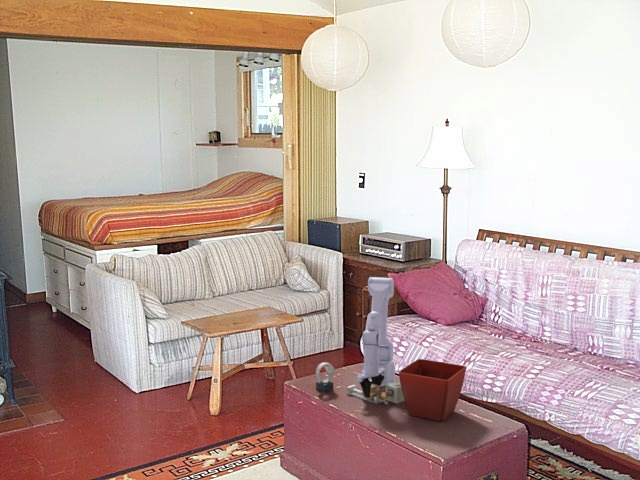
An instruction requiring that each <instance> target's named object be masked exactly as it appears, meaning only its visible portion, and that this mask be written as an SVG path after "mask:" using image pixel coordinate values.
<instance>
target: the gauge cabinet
mask: <svg viewBox="0 0 640 480" xmlns="http://www.w3.org/2000/svg"><path fill="white" fill-rule="evenodd" d="M384 390H385V391H384V392H389V391H392V390H394V394H393V395H391V396H388V397H387V399H385V400H384V401H388V402H391V403H395V404H397V405H398V404H400V403H403V402H405V400H404V397H403V393H402V389H401V384H400V381H397V380H396V381H394V382H391V383H388V384H385V386H384Z"/></svg>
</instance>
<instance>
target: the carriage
mask: <svg viewBox="0 0 640 480" xmlns="http://www.w3.org/2000/svg"><path fill="white" fill-rule="evenodd" d="M380 388H381V387H380V386H379V385H376V384H373V383H372V385H371V388H370V397H369V398H368V399H371V400H372V399H374V395H375V396H377V395H379V394H380V393H381V392H380V391H381V390H380ZM361 391H362V397H364V393H363V389H362V388H361ZM365 398H367V397H365Z"/></svg>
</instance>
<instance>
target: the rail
mask: <svg viewBox="0 0 640 480" xmlns="http://www.w3.org/2000/svg"><path fill="white" fill-rule="evenodd" d="M346 395H350V396H352V397H355V398H358V399H361V400H364V401H366V402H370V403H371V404H375V405H377V404H380V403H383V402H384V401H385V400H381V399H380V397H379V395H377V396H375V395H374V399H372V400H371V399H368V398H365V397H362V390H360V389H357V384H352V385H349V386H347V388H346Z"/></svg>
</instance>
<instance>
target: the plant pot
mask: <svg viewBox="0 0 640 480" xmlns="http://www.w3.org/2000/svg"><path fill="white" fill-rule="evenodd" d="M466 372H467V366H466V365H461V364H455V363H449V362H442V361H437V360H429V359H425V358H418V359H415V361H413V362H412V363H410V364H408V365H407V366H404V368H402V369H400V370H398V377H399V382H400V384H401V389H402V393H403V397H404V400H405V401H404V403H405V406H406V410H407V412H408V414H409V416H412V417H413V416H414V417H416V418H417V417H418V418H422V419H427V420H430V421H437V422H443V421H444V420H445V419H447V418H448V417H449V416H450V415H452V414H453V413H454V412H455V409H456V407H457V404H458V401H459V399H460V395H461V392H462V388H463V386H464V385H463V384H464V381H465V376H466Z"/></svg>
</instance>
